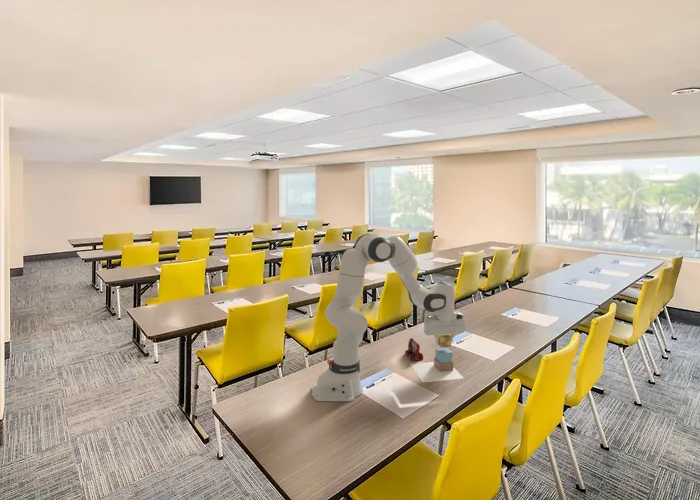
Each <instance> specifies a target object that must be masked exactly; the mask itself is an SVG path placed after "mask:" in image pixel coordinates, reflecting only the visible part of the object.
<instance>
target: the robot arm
mask: <svg viewBox="0 0 700 500" xmlns="http://www.w3.org/2000/svg"><path fill="white" fill-rule="evenodd" d="M370 261H371V262H375V263H384V262H389V264H390V266H391V267H392V269H393V270H394V271H395V272H396V274H398V276H399V278H400V280H401V281H402V283H403V286H404V287H405V288H406V290H407V293H408V298H409V301H410V303H411V304H412V305H413V306H416V307H419V308H420V309H423V310H425V311H426V312H429V313H433V312H435V315H427V316H426V317H424V321H423V323H424V326H423V333H424V335H426V336H434V338H435V343H440V339H439V338H437V337H438V335H440V334H449V335H450V336H451V343H453V339H454V338H455V336H456V334H463V333H465V331H466V321H465V315H464V314H463V313H462V312H461V311H459V310H456V309H455V306H454V305H455V302H456V301H455V298H456V294H455V293H456V292H455V291H456V289H455V287H454V285H453V284H452V283H450V282H447V281H437V283H436V285H434V287H432V288H426V286H423V285H421V284H420V283H419V282H418V279H417V278H416V276H415V274H414V272H415V271H416V270H417V268H418V261H417V258H416V256H415V255H414V253H413V251H412V249H410V247H409V246H408V244H407V243H406V242H405V241H404V240H403V239H402V238H401V237H400V236H398V235H391V236H389V237H387V238H385V237H381V236H379V235H377V234H369V233H366V234H361V235H360V236H359V237H358V238H357V239H356V241H355V242H354V244H353V246H352V248H348V249H345V251H344V252H343V255H342V258H341V261H340V265H339V269H338V270H339V271H338V276H337V283H336V288H335V292H334V295H333V298H332V300H331V302H330V303H329V304H328V305H327V306H326V308H325V311H324V313H325V314H324V315H325V318H326V319H327V321H328V322H329V323H330V324H331V326H333V327H335V328H336V329H337V338H336V340H334V342H333V345H332V348H333V349H332V351H333V352H332V353H333V355H332V356H333V359H332V358H328V359H326V362H327V364H328V368H327V369H326V370H325V371H323V372H322V373H320V374H319V375H318V378H317V380H316V383H314V384H313V385H312V388H311V395H312V398H313V399H314V400H315V401H317V402H352V401H353V400H354V399H355V398H356V397H359V396H360V395H361V394H362V393H363V391H364V390H363V386H362V383H361V378H360V370H361V363H360V359H359V350H360V349H359V346H360V344H359V343H360V340H361V337H362V335H363V334H364V333H365V332H366V330H367V329H368V320H367V318H366V316H365V315H364V314H363V313H362V312H361V311H360V310H358V309H356V308H355V305H356V304H355V303H356V302H357V300H358V298H359V297H361V295H362V294H363V289H364V281H365V274H366V267H367V265H368V263H369V262H370Z"/></svg>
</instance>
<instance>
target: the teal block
mask: <svg viewBox="0 0 700 500" xmlns="http://www.w3.org/2000/svg"><path fill="white" fill-rule="evenodd" d="M434 356H435V357H434V358H436V359H437V360H438V361H439V362H440V363H448V362H453V352H452V351H451V350H450V349H449V347H444V348H441V347H437V348H435V355H434Z"/></svg>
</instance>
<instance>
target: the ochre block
mask: <svg viewBox="0 0 700 500" xmlns="http://www.w3.org/2000/svg"><path fill="white" fill-rule="evenodd" d="M437 338H439V339H440V343H437V345H438V346H439V348H451V347H452V342H451V334H440V335H438V337H437Z"/></svg>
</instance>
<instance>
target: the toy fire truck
mask: <svg viewBox="0 0 700 500" xmlns="http://www.w3.org/2000/svg"><path fill="white" fill-rule="evenodd" d="M420 350H421V349H420V344H419V343H418V342H417V341H416V340H415V339H414V338H409V340H408V345H407V349H405V351H404V354H405V356H406V357H407V358H408V360H409V361H410V362H414V360H415V361H422V360H424V355H423V353H422V352H420Z"/></svg>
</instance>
